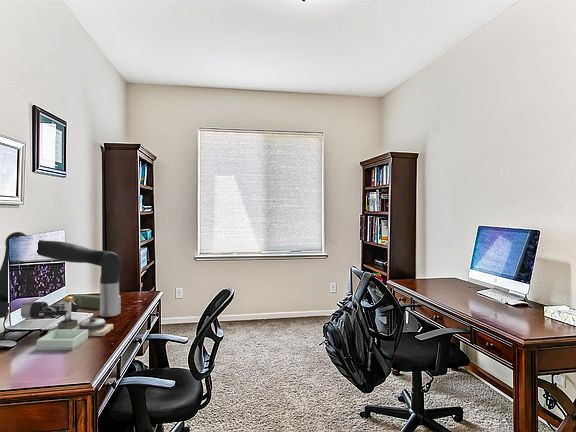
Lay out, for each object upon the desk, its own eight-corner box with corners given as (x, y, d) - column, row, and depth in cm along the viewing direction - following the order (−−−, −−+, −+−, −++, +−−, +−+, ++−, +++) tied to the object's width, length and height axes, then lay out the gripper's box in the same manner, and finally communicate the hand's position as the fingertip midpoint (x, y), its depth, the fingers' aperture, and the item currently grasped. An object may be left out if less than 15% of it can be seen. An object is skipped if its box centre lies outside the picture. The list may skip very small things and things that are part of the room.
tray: (55, 338, 176) (55, 329, 176) (88, 338, 176) (88, 329, 176) (36, 350, 162) (36, 340, 162) (72, 350, 162) (72, 340, 162)
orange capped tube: (69, 326, 187) (69, 295, 187) (74, 327, 185) (74, 297, 185) (61, 328, 184) (61, 297, 184) (65, 329, 182) (66, 298, 182)
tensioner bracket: (47, 336, 178) (47, 322, 178) (61, 328, 190) (61, 315, 190) (102, 336, 180) (102, 322, 179) (113, 328, 192) (113, 315, 191)
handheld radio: (77, 304, 235) (112, 308, 227) (73, 306, 232) (108, 310, 224) (77, 293, 235) (112, 297, 227) (72, 294, 232) (108, 298, 224)
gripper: (24, 305, 177) (62, 306, 177) (42, 298, 191) (77, 298, 192) (24, 323, 177) (62, 323, 178) (42, 314, 191) (77, 314, 192)
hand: (70, 310), depth 185 cm, fingers open, 8 cm apart
